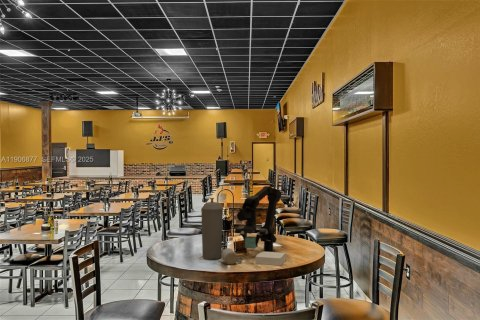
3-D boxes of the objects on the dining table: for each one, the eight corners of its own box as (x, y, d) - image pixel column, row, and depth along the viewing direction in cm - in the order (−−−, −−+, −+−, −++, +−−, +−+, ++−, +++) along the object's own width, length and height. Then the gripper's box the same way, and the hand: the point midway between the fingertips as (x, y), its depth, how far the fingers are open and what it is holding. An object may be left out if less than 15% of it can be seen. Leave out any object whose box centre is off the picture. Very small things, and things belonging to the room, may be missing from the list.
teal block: (248, 246, 257) (247, 236, 257) (257, 246, 256) (257, 236, 256) (244, 248, 252) (244, 237, 252) (254, 248, 250) (254, 238, 250)
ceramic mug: (225, 265, 233) (225, 251, 233) (221, 262, 240) (221, 248, 240) (243, 264, 236) (244, 250, 236) (239, 261, 244) (239, 247, 244)
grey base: (262, 258, 250) (262, 251, 250) (285, 259, 245) (285, 252, 245) (255, 263, 236) (255, 256, 236) (280, 265, 232) (280, 258, 232)
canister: (198, 260, 245) (198, 198, 245) (203, 255, 258) (203, 196, 258) (220, 260, 244) (220, 198, 244) (224, 255, 256) (224, 197, 256)
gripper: (231, 220, 249) (231, 247, 249) (263, 221, 243) (263, 249, 243) (237, 217, 260) (238, 243, 260) (268, 219, 254) (268, 245, 254)
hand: (251, 245), depth 254 cm, fingers closed on teal block, 6 cm apart
